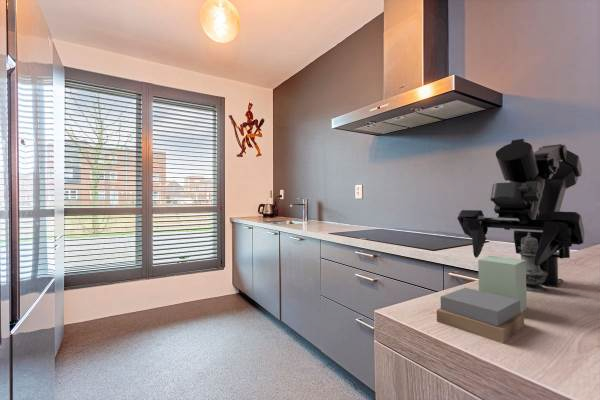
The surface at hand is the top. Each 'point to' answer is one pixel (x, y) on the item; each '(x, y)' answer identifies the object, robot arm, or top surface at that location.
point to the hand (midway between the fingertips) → (503, 259)
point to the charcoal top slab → (481, 306)
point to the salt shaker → (532, 264)
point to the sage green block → (503, 278)
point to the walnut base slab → (482, 325)
